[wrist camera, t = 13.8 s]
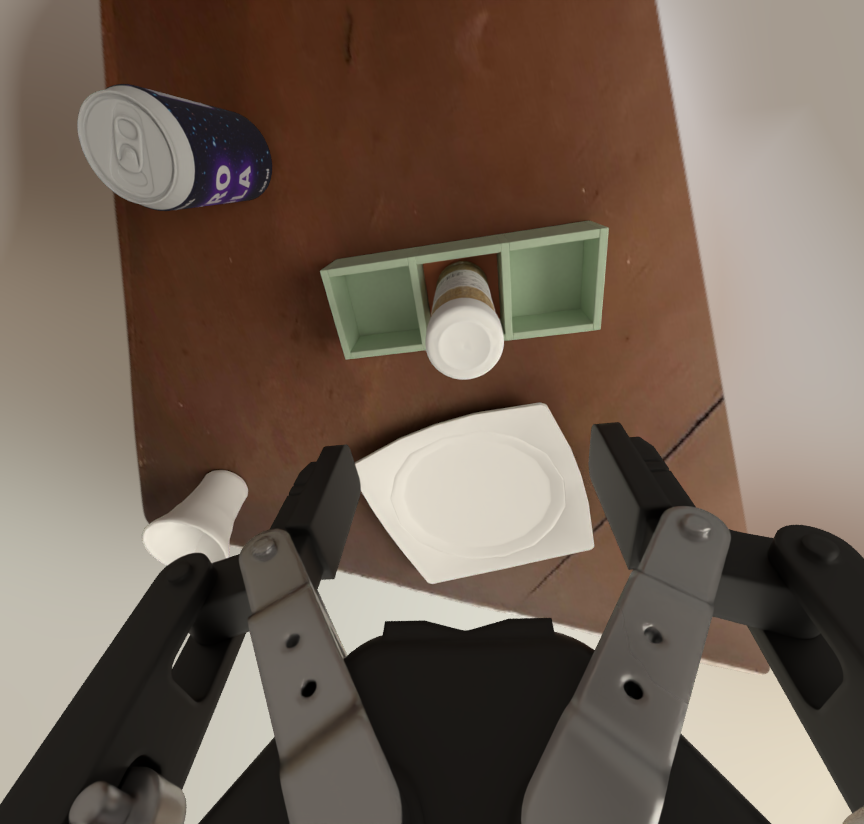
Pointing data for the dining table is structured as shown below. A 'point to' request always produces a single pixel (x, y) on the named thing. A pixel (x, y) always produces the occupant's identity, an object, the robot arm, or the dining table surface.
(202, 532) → the cup
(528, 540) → the plate
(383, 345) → the tray
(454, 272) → the spice jar
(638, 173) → the dining table surface
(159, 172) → the beverage can
